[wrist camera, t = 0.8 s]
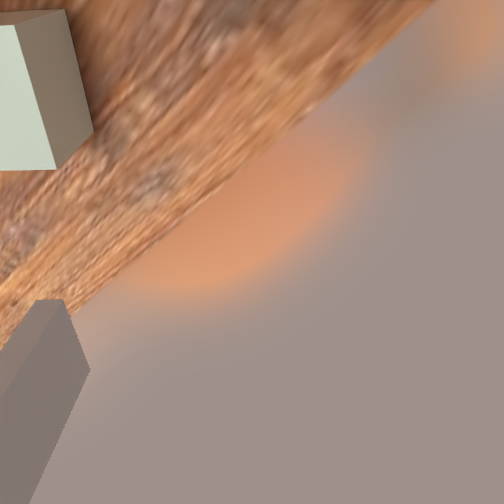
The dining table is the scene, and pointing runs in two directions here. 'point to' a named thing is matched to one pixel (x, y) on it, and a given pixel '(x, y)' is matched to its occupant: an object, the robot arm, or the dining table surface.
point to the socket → (39, 91)
